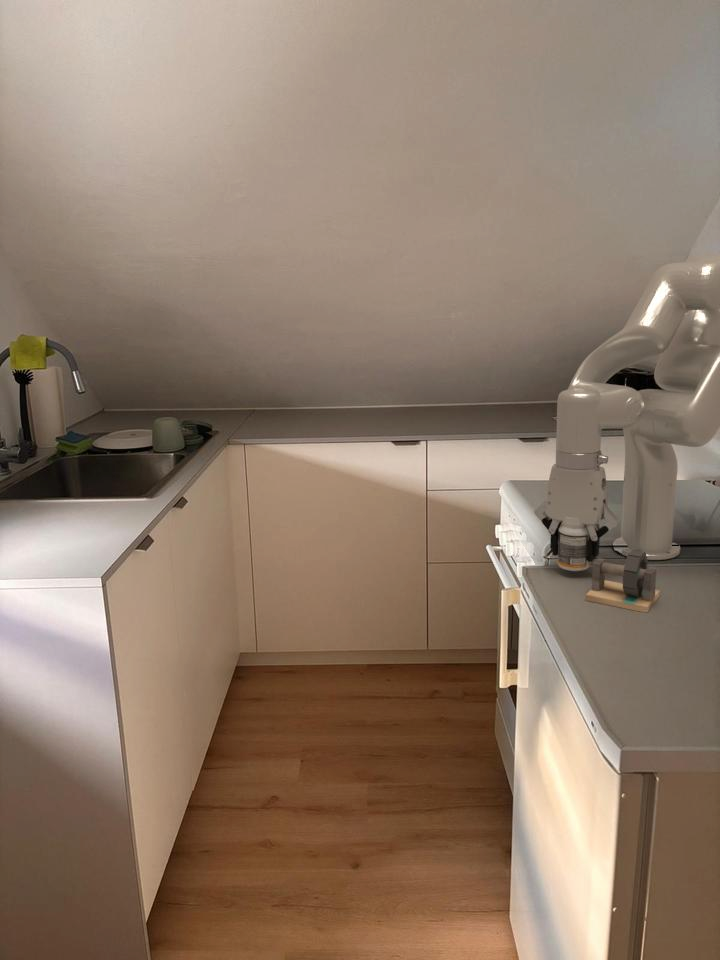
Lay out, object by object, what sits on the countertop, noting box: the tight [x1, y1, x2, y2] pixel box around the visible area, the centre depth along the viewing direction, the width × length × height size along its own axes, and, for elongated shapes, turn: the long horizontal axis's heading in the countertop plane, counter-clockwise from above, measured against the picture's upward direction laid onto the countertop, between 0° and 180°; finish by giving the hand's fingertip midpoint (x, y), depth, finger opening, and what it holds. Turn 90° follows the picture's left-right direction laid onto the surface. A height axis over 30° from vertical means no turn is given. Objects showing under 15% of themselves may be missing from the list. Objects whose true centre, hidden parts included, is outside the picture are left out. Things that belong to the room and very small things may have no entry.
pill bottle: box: [557, 517, 591, 572], centre depth 139 cm, size 6×6×10 cm
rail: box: [584, 557, 661, 614], centre depth 129 cm, size 8×10×6 cm
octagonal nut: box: [622, 550, 649, 597], centre depth 127 cm, size 7×2×7 cm, turn 146°
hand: (574, 555), depth 140 cm, fingers closed on pill bottle, 5 cm apart
